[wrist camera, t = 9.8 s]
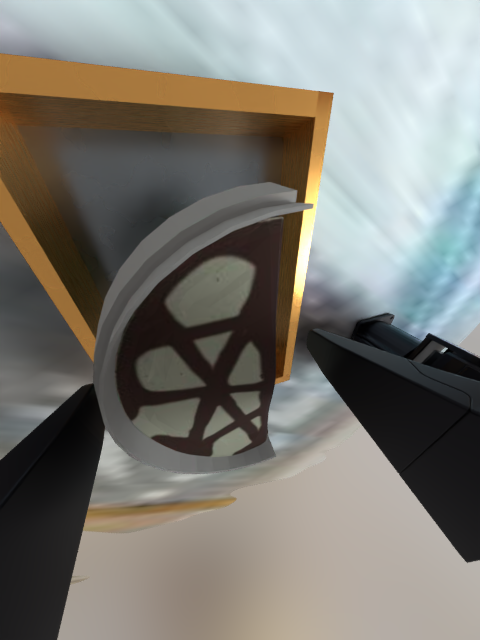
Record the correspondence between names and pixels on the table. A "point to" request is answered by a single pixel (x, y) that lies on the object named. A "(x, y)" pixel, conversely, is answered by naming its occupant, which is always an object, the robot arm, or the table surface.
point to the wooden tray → (145, 171)
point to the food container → (196, 335)
